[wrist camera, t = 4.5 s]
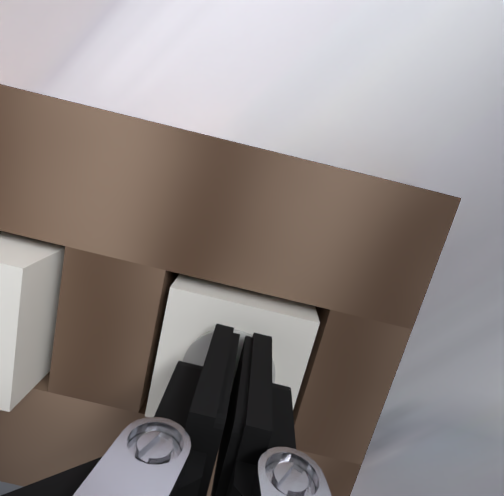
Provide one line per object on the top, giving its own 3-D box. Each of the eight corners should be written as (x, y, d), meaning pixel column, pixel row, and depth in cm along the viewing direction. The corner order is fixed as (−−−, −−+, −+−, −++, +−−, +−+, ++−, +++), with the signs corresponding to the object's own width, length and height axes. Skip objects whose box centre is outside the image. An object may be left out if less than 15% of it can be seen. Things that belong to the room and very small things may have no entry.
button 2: (309, 287, 14) (320, 325, 11) (279, 390, 15) (281, 452, 12) (190, 258, 14) (168, 288, 11) (168, 364, 15) (143, 419, 12)
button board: (420, 187, 14) (461, 198, 11) (316, 485, 17) (327, 555, 14) (-332, 2, 13) (-505, -40, 10) (-289, 345, 16) (-411, 387, 13)
